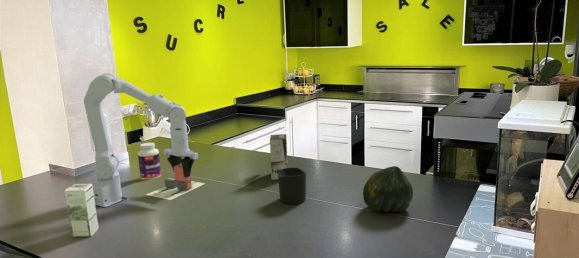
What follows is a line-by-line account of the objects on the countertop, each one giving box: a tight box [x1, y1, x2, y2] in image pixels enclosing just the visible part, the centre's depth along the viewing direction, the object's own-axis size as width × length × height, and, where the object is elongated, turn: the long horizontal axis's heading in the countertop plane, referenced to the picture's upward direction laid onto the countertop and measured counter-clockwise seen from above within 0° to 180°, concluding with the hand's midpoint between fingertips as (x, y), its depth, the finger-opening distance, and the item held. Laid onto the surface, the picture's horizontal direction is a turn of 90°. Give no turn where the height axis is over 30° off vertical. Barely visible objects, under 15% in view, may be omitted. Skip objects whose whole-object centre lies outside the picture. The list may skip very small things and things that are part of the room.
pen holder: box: [277, 167, 307, 205], centre depth 145 cm, size 9×9×10 cm
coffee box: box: [269, 133, 289, 180], centre depth 169 cm, size 9×6×16 cm
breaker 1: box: [164, 176, 179, 189], centre depth 159 cm, size 3×4×3 cm
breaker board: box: [145, 180, 206, 201], centre depth 157 cm, size 18×12×1 cm, turn 151°
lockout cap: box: [173, 164, 192, 181], centre depth 155 cm, size 4×4×5 cm
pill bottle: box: [137, 142, 162, 181], centre depth 172 cm, size 8×8×14 cm
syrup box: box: [64, 183, 99, 238], centre depth 125 cm, size 6×6×14 cm
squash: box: [362, 165, 414, 213], centre depth 134 cm, size 14×15×15 cm
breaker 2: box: [177, 179, 192, 191], centre depth 156 cm, size 3×5×3 cm, turn 61°
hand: (182, 176), depth 155 cm, fingers closed on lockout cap, 4 cm apart
